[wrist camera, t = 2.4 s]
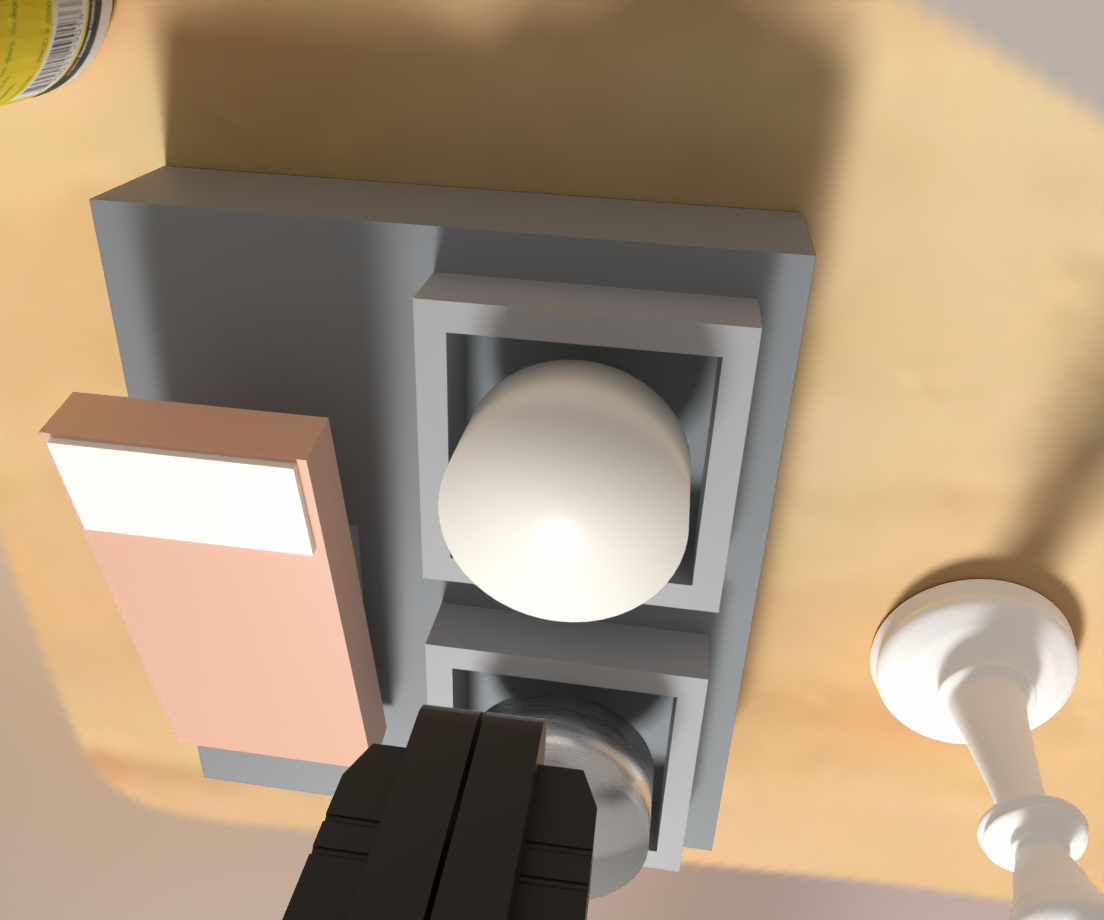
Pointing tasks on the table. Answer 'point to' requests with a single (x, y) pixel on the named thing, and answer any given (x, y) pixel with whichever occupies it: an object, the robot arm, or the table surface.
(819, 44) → the table surface
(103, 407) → the rocker
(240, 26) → the table surface
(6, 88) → the supplement bottle
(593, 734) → the metal button
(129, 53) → the table surface
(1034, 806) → the chess piece
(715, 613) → the panel
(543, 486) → the white button
